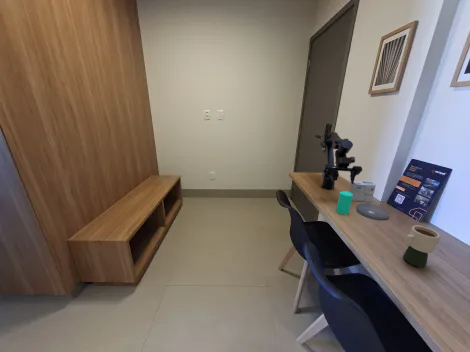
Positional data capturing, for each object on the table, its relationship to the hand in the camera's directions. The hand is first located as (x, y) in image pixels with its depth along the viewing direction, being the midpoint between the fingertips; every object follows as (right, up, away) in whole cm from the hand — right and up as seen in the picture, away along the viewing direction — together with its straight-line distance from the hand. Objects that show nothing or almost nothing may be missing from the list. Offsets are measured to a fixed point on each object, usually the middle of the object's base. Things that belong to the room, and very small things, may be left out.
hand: (343, 183), depth 108 cm
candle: (-2, -15, -3) cm, 15 cm away
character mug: (+6, -27, -36) cm, 46 cm away
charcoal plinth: (+13, -15, -3) cm, 21 cm away
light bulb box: (+17, -10, +12) cm, 23 cm away
